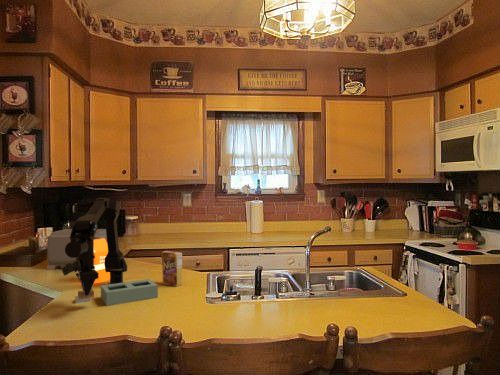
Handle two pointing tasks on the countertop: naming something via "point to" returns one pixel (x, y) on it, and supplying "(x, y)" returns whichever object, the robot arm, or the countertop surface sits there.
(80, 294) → the walnut tile
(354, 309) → the countertop surface
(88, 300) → the steel tile
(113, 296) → the grey holed block
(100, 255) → the orange juice
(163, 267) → the candy box
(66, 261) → the toaster
